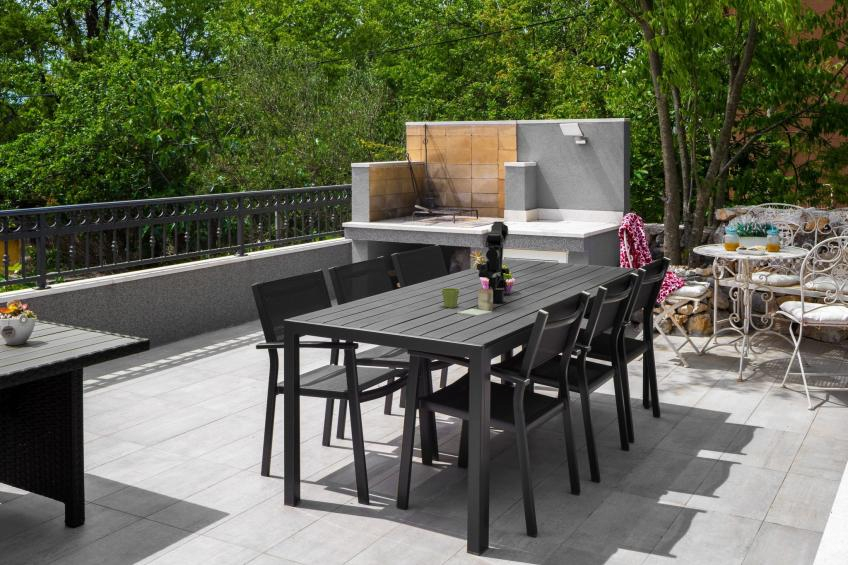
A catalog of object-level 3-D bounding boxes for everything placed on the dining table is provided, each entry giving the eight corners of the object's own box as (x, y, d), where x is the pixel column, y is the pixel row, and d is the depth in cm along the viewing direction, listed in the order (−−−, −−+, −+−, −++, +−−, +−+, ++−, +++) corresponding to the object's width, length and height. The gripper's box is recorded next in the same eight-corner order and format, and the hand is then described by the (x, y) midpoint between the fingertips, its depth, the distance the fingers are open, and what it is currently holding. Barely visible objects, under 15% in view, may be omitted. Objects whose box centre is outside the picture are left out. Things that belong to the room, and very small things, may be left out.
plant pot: (444, 308, 460) (444, 291, 459) (438, 305, 469) (438, 288, 468) (462, 308, 463) (462, 290, 461) (456, 304, 472) (456, 287, 470)
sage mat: (471, 309, 458) (471, 308, 458) (492, 312, 450) (492, 311, 450) (456, 313, 449) (456, 312, 449) (477, 315, 441) (477, 314, 441)
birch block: (484, 309, 460) (484, 288, 458) (492, 310, 457) (492, 289, 455) (478, 310, 456) (478, 289, 455) (486, 311, 453) (486, 291, 452)
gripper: (491, 255, 470) (491, 286, 473) (469, 259, 456) (469, 291, 458) (510, 257, 464) (509, 288, 466) (488, 260, 449) (488, 293, 452)
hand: (493, 290), depth 461 cm, fingers closed
